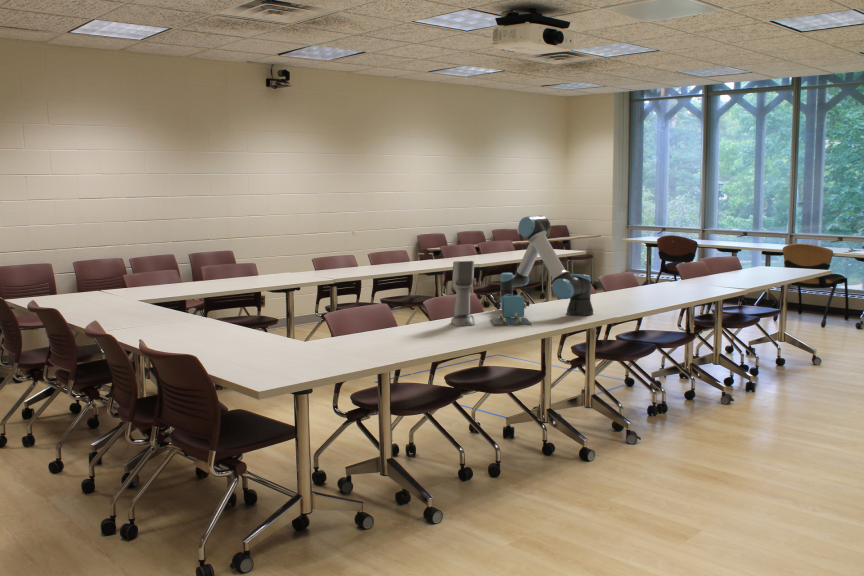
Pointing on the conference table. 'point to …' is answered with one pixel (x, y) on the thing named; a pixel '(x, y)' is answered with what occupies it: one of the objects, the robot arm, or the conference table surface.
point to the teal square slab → (512, 306)
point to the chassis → (509, 321)
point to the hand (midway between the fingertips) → (513, 306)
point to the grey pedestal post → (462, 292)
